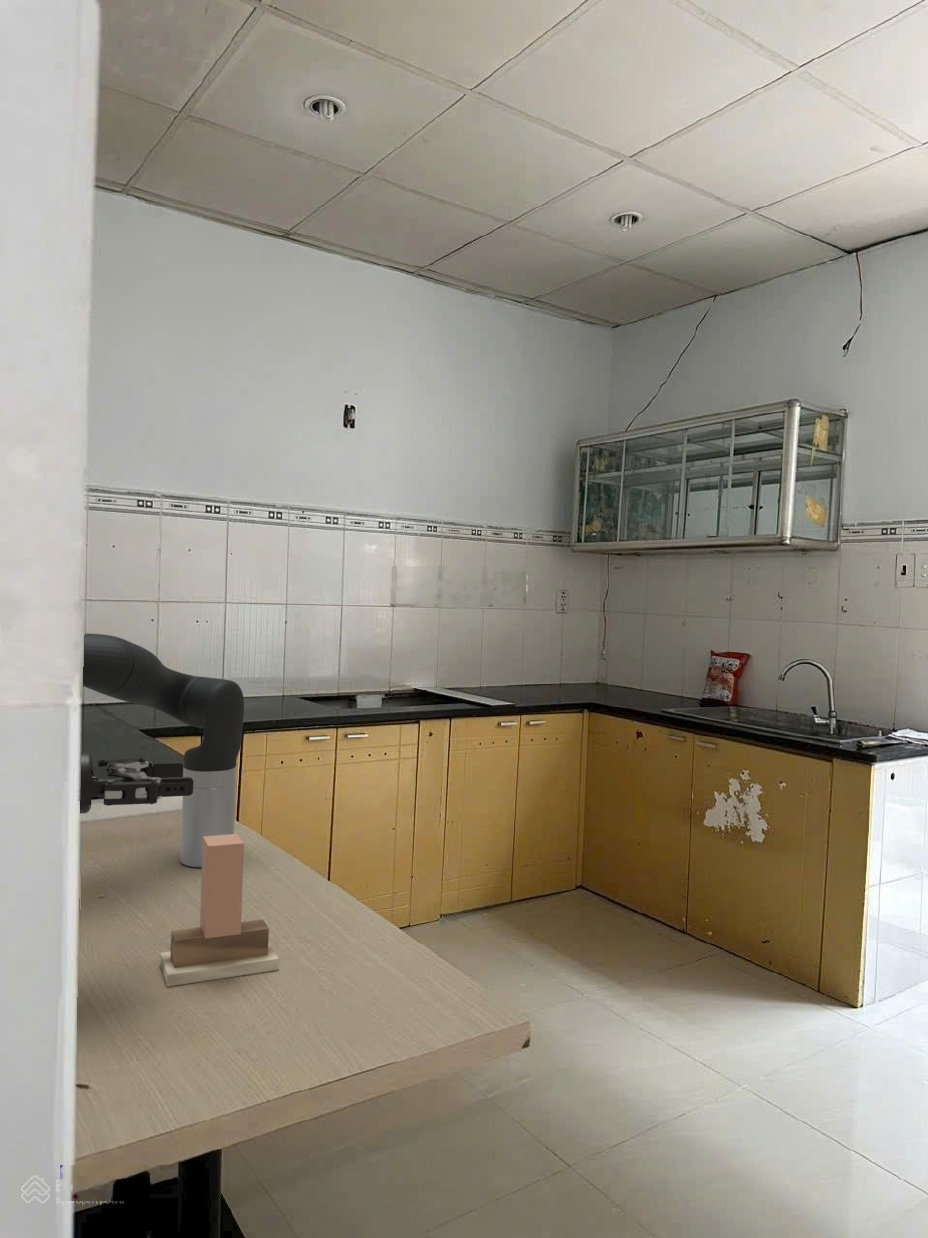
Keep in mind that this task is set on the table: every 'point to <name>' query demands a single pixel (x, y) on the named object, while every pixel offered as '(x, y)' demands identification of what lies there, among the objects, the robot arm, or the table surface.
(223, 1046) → the table surface
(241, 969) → the stand
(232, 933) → the block
